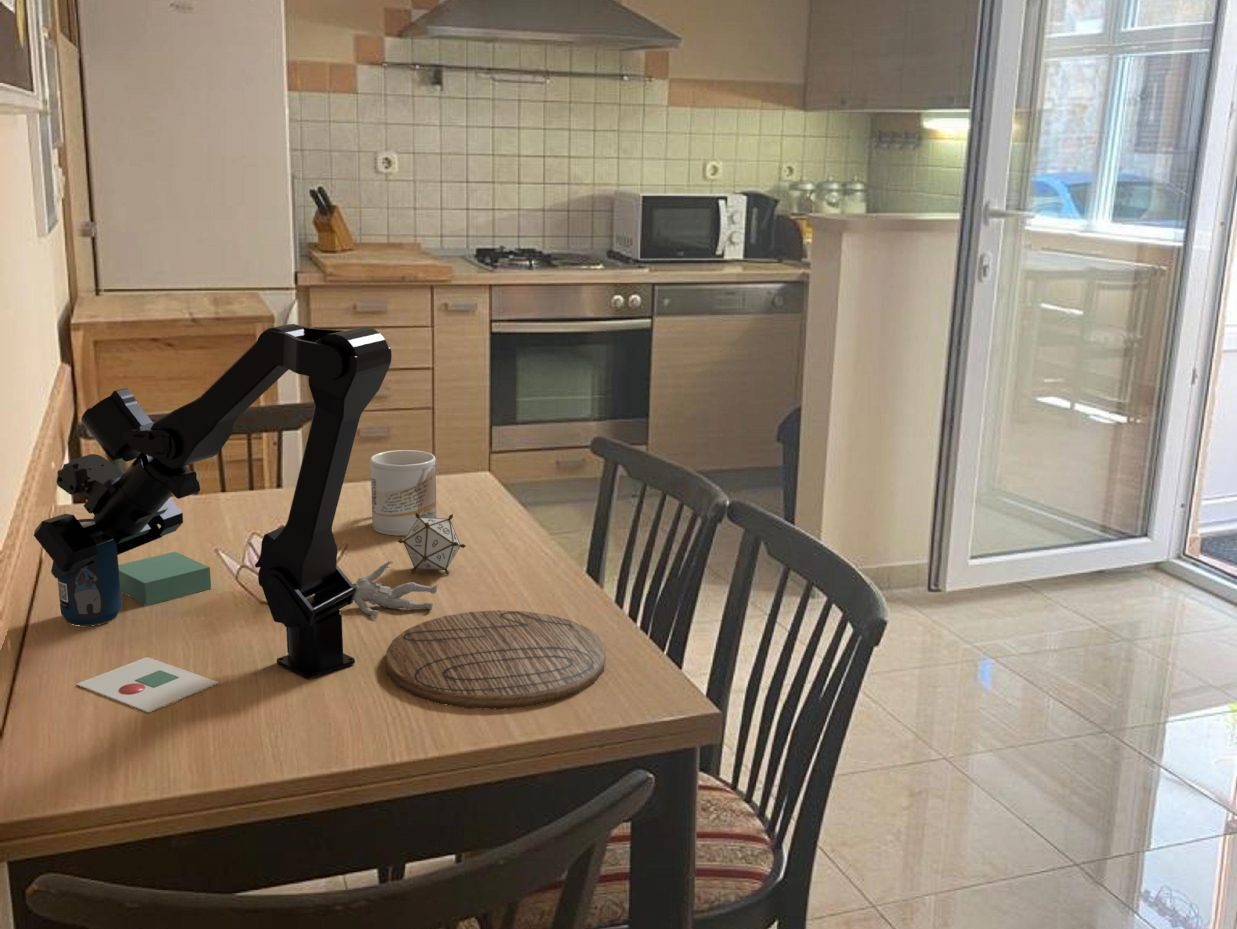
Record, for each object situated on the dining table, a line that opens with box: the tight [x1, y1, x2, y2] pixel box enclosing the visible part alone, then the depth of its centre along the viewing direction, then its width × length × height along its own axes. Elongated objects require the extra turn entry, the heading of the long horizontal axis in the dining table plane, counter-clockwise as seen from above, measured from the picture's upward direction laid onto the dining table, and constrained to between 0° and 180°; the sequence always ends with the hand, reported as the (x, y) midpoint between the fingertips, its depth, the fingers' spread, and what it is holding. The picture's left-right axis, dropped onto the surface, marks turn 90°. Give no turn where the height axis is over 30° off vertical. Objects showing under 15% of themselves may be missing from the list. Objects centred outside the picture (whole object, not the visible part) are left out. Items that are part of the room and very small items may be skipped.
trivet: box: [385, 609, 606, 710], centre depth 144 cm, size 25×25×2 cm
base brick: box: [118, 551, 212, 606], centre depth 165 cm, size 10×9×3 cm
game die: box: [397, 512, 467, 576], centre depth 173 cm, size 9×8×10 cm
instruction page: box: [76, 656, 220, 713], centre depth 136 cm, size 12×9×1 cm
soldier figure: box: [352, 561, 439, 618], centre depth 159 cm, size 8×5×12 cm
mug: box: [370, 449, 437, 537], centre depth 194 cm, size 10×12×11 cm
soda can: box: [57, 518, 123, 627], centre depth 153 cm, size 7×7×12 cm
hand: (79, 565), depth 153 cm, fingers open, 7 cm apart
